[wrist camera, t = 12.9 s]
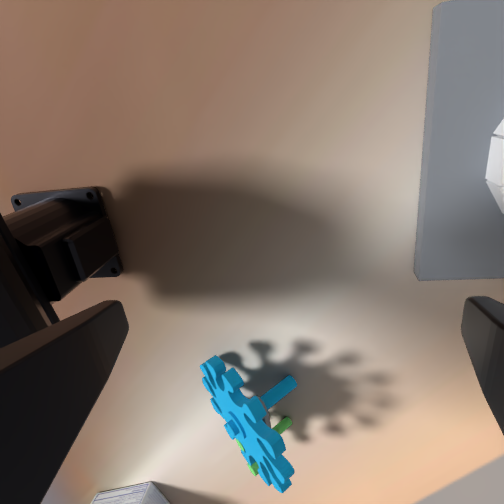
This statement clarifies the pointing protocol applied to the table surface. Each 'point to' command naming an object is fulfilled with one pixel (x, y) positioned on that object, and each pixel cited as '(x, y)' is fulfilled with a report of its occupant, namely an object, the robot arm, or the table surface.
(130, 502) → the medicine box
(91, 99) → the table surface
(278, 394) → the gear
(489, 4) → the grey square base plate
